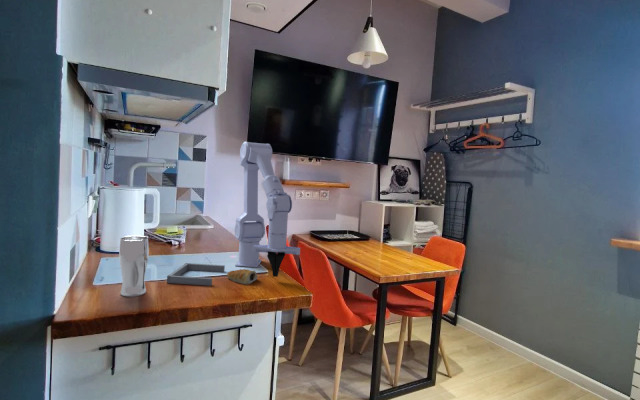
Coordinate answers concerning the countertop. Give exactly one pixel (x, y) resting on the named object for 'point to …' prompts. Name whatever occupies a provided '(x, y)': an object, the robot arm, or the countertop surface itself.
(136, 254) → the beer glass
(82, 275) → the countertop surface
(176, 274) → the tray slot
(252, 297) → the countertop surface
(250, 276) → the pastry
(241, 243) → the robot arm
